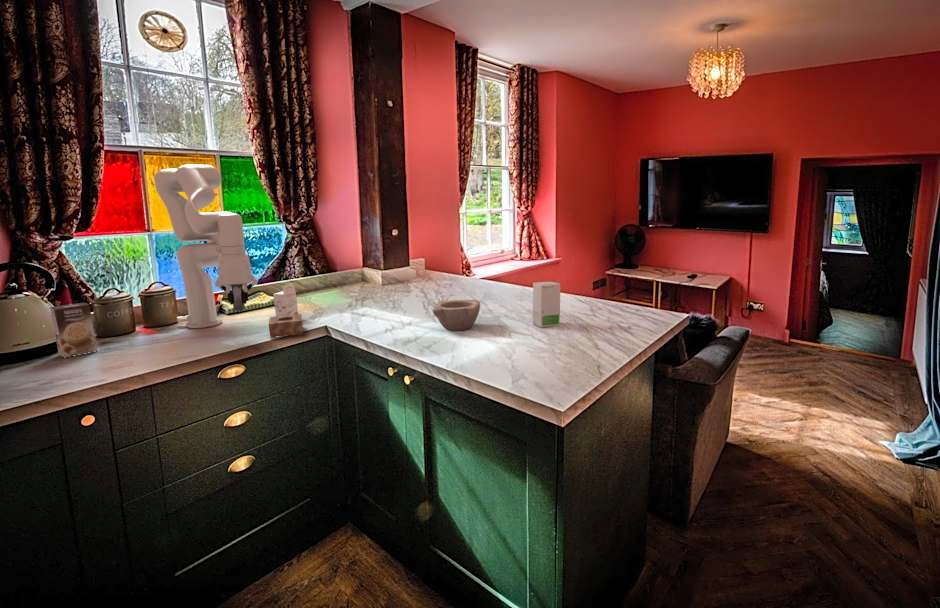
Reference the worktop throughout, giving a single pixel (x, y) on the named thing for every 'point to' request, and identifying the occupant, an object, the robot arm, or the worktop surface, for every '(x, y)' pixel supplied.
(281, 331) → the socket block
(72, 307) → the coffee box
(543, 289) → the skincare box
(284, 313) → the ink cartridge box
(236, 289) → the peg
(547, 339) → the worktop surface
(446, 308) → the mortar
